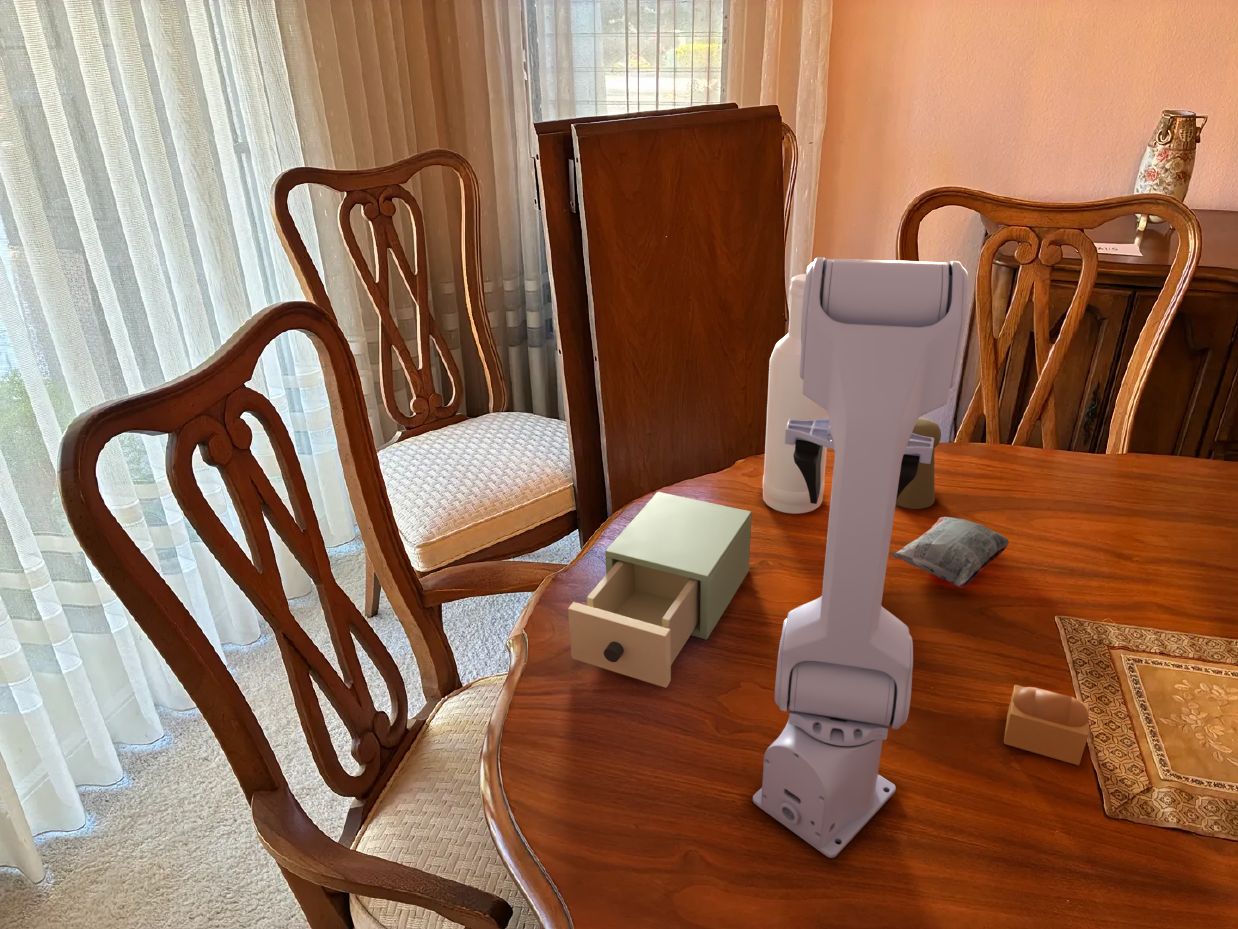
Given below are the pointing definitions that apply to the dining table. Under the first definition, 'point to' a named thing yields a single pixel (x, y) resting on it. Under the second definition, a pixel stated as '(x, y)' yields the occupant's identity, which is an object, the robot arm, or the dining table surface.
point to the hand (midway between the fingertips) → (850, 503)
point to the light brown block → (1047, 724)
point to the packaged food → (954, 550)
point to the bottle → (788, 417)
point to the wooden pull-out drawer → (635, 622)
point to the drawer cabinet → (690, 548)
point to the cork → (922, 472)
